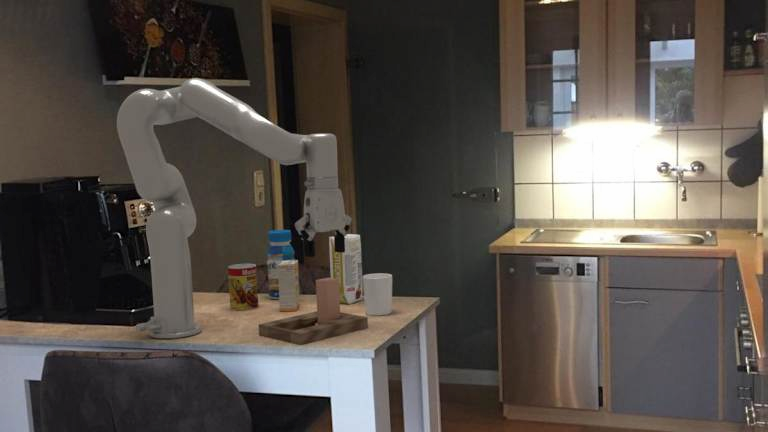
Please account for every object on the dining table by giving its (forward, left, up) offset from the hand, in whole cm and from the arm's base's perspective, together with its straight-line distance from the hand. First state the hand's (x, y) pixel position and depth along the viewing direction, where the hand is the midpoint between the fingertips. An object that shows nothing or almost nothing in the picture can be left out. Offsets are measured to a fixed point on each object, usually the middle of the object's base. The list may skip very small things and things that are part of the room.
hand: (325, 254), depth 201 cm
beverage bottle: (+18, +42, -19) cm, 49 cm away
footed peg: (0, 0, -18) cm, 18 cm away
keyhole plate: (-5, 0, -18) cm, 19 cm away
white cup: (+19, +2, -19) cm, 27 cm away
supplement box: (+9, +27, -19) cm, 34 cm away
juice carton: (+25, +21, -19) cm, 38 cm away
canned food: (+2, +39, -19) cm, 43 cm away
